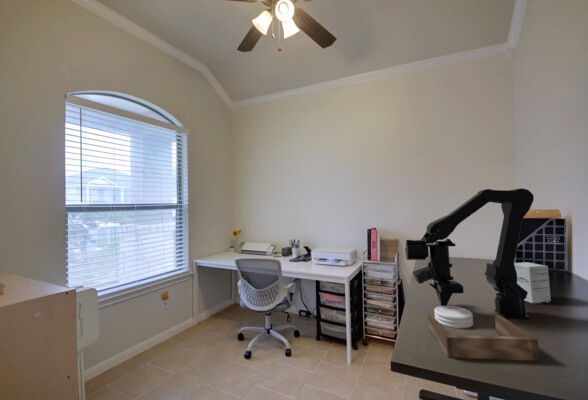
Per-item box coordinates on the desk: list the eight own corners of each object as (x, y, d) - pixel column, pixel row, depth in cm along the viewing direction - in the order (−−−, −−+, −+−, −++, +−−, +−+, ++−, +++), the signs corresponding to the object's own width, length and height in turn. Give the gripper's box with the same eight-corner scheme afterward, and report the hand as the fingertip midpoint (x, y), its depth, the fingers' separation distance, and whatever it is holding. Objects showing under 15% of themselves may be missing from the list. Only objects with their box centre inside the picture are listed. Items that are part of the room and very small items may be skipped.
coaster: (454, 331, 75) (453, 318, 75) (427, 318, 85) (426, 307, 85) (481, 326, 78) (480, 313, 78) (453, 314, 87) (452, 303, 88)
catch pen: (501, 332, 73) (499, 315, 73) (539, 360, 59) (537, 339, 59) (428, 330, 76) (427, 314, 76) (448, 357, 62) (447, 337, 62)
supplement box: (513, 297, 100) (510, 263, 100) (531, 296, 100) (528, 261, 101) (532, 304, 92) (528, 266, 93) (552, 302, 93) (548, 265, 94)
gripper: (407, 255, 100) (410, 298, 99) (422, 265, 82) (426, 318, 81) (439, 255, 98) (443, 298, 98) (462, 265, 80) (466, 318, 79)
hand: (443, 307), depth 89 cm, fingers closed
